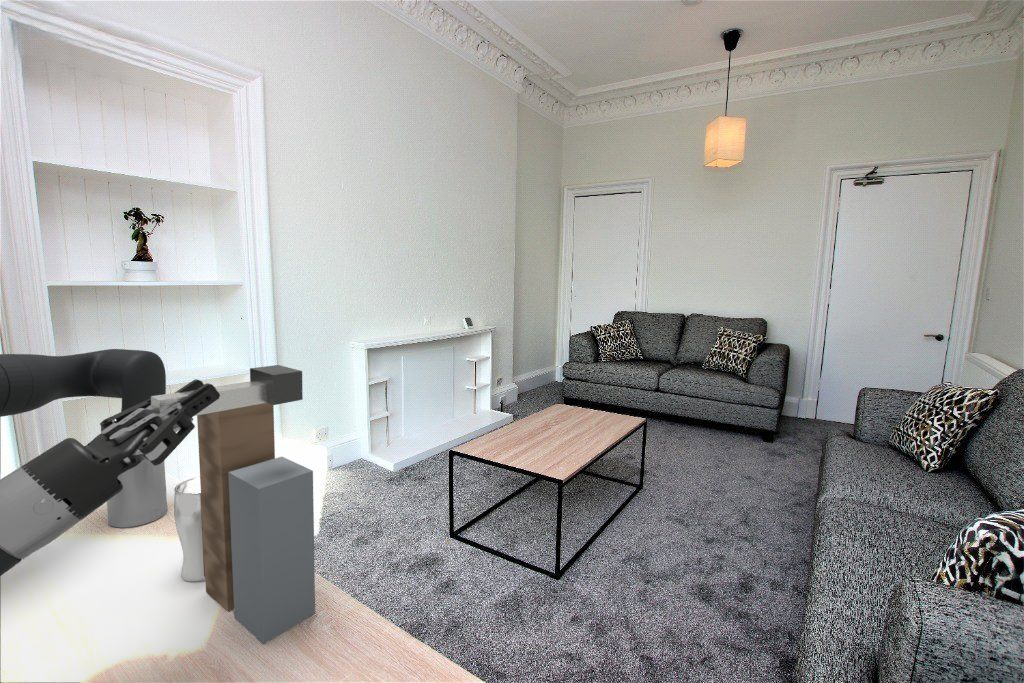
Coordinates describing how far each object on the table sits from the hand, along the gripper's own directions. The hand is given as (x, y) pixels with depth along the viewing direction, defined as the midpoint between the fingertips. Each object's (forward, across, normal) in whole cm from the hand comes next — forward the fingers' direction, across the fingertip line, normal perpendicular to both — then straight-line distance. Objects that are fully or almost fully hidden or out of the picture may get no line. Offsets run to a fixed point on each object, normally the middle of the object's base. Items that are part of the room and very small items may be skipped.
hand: (208, 387), depth 59 cm
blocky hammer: (+1, 0, -4) cm, 4 cm away
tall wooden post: (-11, -10, -34) cm, 37 cm away
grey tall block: (-11, 0, -34) cm, 36 cm away
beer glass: (-12, -19, -34) cm, 41 cm away
